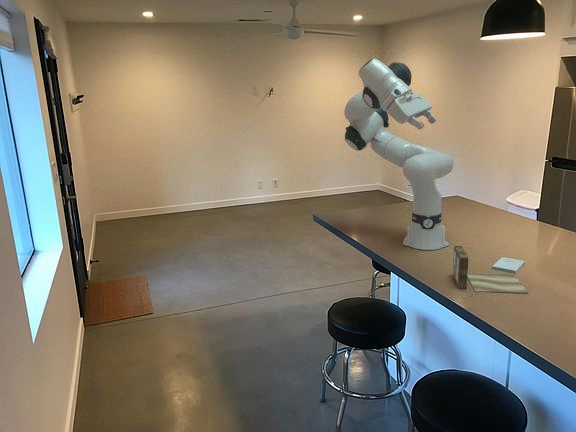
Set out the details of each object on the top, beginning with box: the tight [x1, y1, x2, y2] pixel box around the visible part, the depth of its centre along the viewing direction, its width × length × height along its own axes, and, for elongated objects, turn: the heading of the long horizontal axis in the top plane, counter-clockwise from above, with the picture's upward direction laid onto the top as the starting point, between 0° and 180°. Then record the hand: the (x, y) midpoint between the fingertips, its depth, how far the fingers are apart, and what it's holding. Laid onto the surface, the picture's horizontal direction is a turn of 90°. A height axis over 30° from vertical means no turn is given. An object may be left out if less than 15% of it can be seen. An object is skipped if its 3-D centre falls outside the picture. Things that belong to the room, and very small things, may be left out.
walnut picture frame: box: [452, 245, 470, 290], centre depth 158 cm, size 12×3×11 cm, turn 170°
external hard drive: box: [491, 256, 526, 275], centre depth 172 cm, size 2×8×12 cm
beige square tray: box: [467, 272, 529, 295], centre depth 157 cm, size 16×16×1 cm
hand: (428, 125), depth 152 cm, fingers open, 8 cm apart
